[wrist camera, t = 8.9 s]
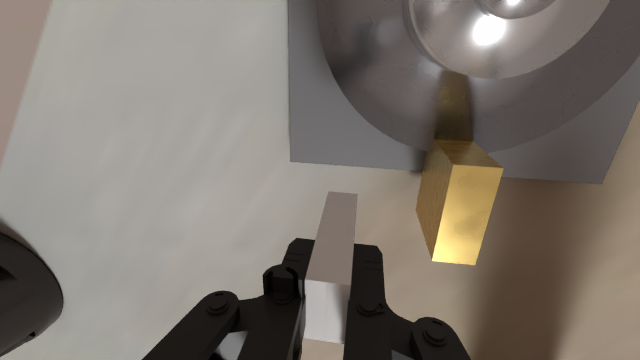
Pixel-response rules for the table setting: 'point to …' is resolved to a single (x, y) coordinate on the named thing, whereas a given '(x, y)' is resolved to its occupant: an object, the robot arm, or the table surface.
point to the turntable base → (384, 152)
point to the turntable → (464, 106)
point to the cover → (497, 32)
